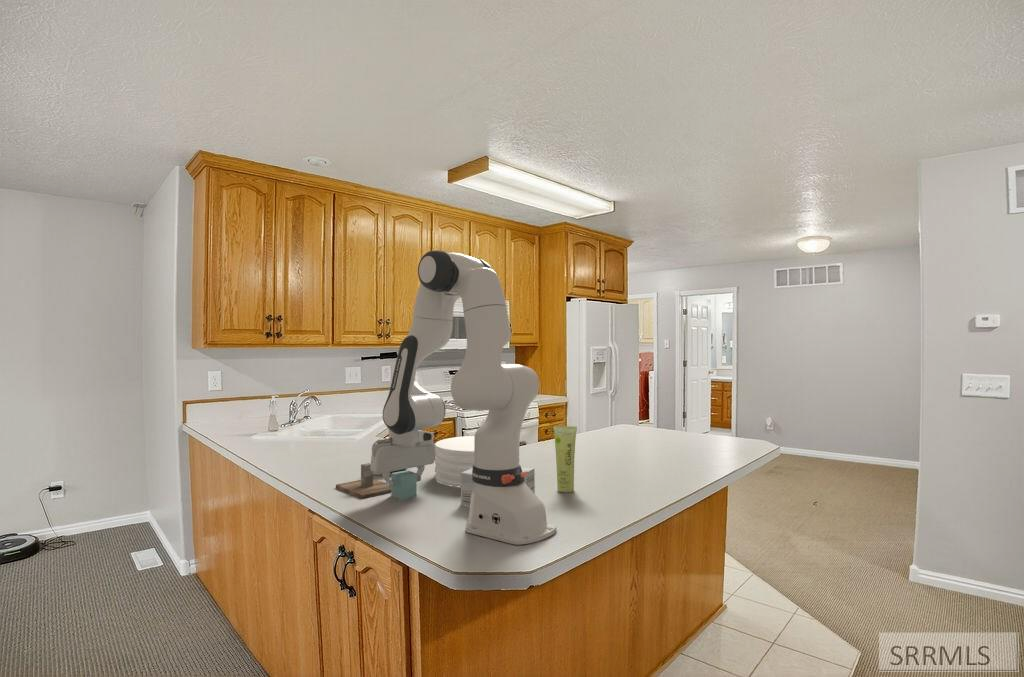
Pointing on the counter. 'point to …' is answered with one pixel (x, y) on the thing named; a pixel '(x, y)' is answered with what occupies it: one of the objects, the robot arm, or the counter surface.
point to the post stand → (365, 485)
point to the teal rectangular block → (404, 484)
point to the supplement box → (469, 483)
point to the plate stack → (453, 459)
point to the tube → (565, 456)
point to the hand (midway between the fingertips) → (403, 483)
